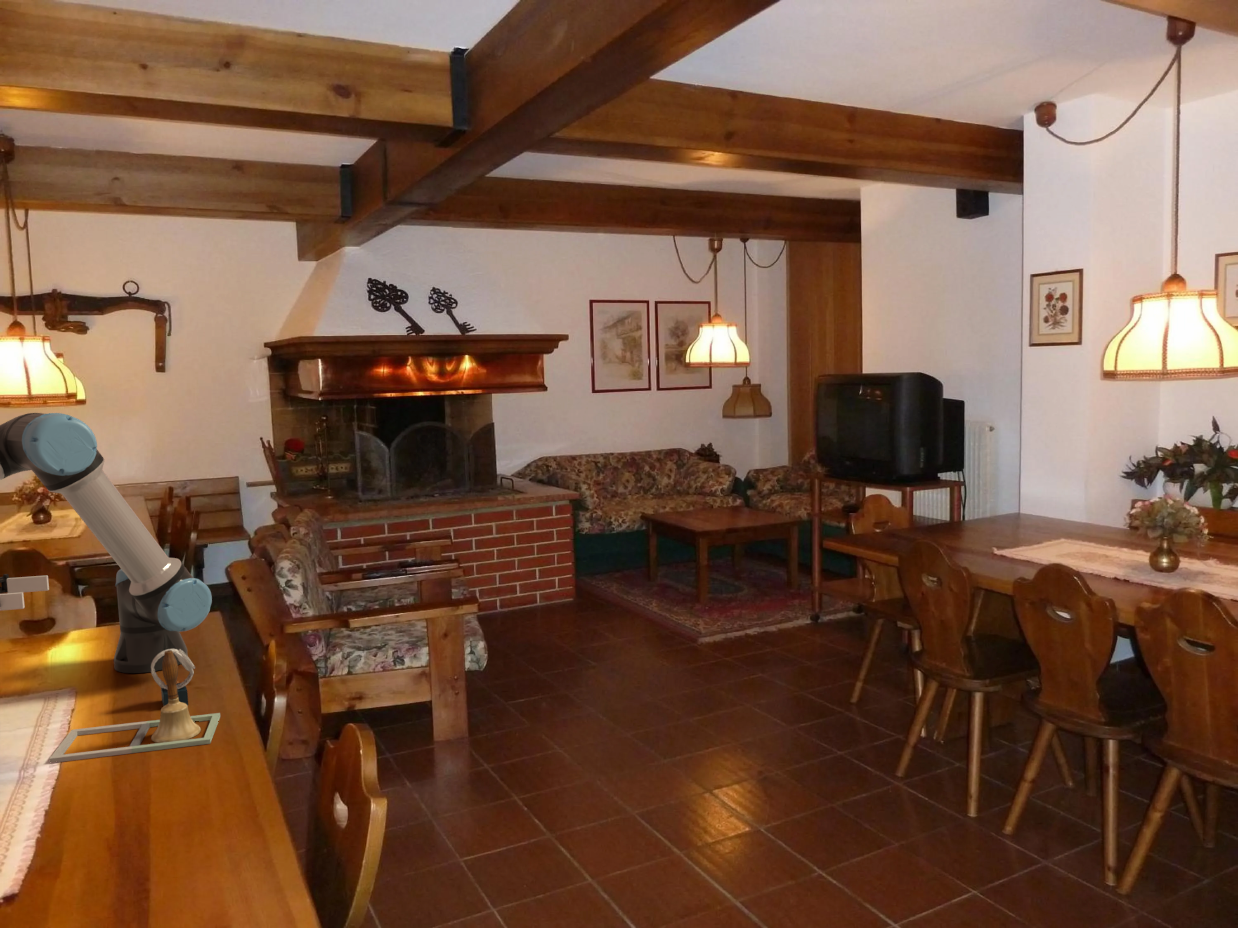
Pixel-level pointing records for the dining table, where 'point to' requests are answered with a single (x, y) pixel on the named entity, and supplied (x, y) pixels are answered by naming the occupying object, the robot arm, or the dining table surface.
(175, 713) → the hand bell
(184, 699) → the watch
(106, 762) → the dining table surface
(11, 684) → the dining table surface
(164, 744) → the window frame
